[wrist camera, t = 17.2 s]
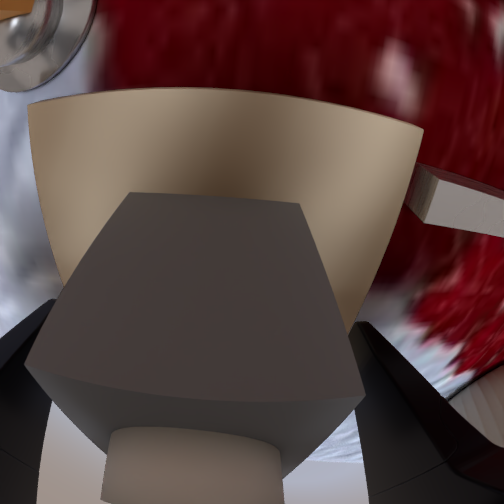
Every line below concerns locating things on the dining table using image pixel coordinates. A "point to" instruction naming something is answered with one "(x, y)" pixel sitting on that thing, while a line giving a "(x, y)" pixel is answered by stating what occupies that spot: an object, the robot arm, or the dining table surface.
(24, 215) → the dining table surface
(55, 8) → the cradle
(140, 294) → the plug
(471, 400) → the canister
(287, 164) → the board
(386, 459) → the robot arm
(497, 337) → the dining table surface
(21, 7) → the latch
